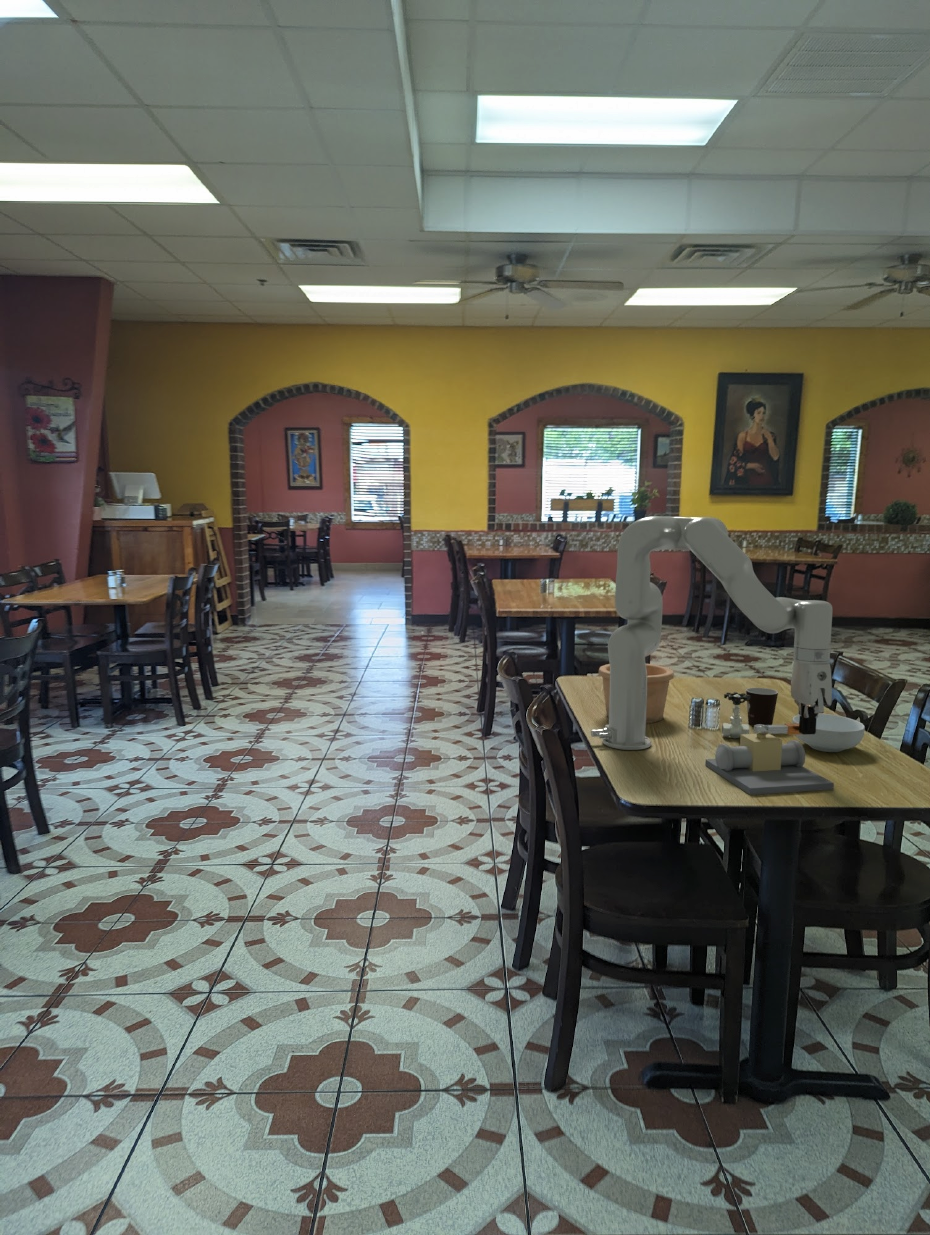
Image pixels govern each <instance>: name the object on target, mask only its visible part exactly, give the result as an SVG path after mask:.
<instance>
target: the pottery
mask: <svg viewBox="0 0 930 1235" xmlns="http://www.w3.org/2000/svg"><path fill="white" fill-rule="evenodd" d="M646 669H647V703H646V724H654V723H658V722H660V721H662V720H663V719H664V713H665V707H666V701H667V698H668V697H667V696H668V691H669V686H670V680H673V679H674V677H675V675H674V674H675V670H673V669H671V668H669V667H667V666H663V665H659V664H652V663H646ZM598 675H599V676H600V677H601V678H602V685H603V695H604V703H605V711H606V712H605V715H606V716H607V717H608V718H609V701H610V663H608V664H604V665H601V666H599V669H598Z"/></svg>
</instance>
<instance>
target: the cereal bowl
mask: <svg viewBox="0 0 930 1235" xmlns="http://www.w3.org/2000/svg"><path fill="white" fill-rule="evenodd" d="M800 716H801V715H799V714H796V715H794V716H793V717H792V721H791V722H792V723H799V719H800ZM865 728H866V727H865V725H864V723H862V722H860V721H858V720H856V719H853V718H850V717H846V716H842V715H837V714H836V715H835V714H829V713H819V714H818V717H817V719H816V733H815V734H806V735H803V734H794V736H796V738H797V739H798V741H799V742H802V743H805V744H806V745H808V746H809V747H810V748H812V749H813V750H817V751H820V752H826V753H839V752H842V751H844V750H849V749H852V748H855V747H857V746H858V745H859V744H860V743H861V742H862V740H863V738H864V736H865V730H866V729H865Z"/></svg>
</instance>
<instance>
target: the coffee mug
mask: <svg viewBox="0 0 930 1235" xmlns="http://www.w3.org/2000/svg"><path fill="white" fill-rule="evenodd" d="M745 694H746V695H750V699H748V701H746V707H747V708H746V709H747V711H746V712H747V721H748V722H747V724H748V725H749V727H750V726H751V727H753V728H754V725H757V724H761V725H773V722H774V717H775V712H776V706H777V700H778V695H779V691H778V690H776V689H774V688H773V689H771V688H768V687H767V688H765V687H748V688H746V689H745Z"/></svg>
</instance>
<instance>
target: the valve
mask: <svg viewBox="0 0 930 1235" xmlns="http://www.w3.org/2000/svg"><path fill="white" fill-rule="evenodd" d="M723 699H727V700H728V701H731V702H732V705H734V707H732V713H733V714H732V716H730V717H729V721H730V723H729V722H728V723H726V722H723V723H722V724H721V736H722V737H724V738H729V737H730V738H731V739H740V737H741V734H750V725H749V724H748V723H747V724H745V723H742V721H743V718H742V717H741V716H740V714H741V708H740V707H739V706H740V705H741V704H744V703H745V702H747V701H748V699H750V695H746V692H745V693H744V692H743V693H738V692H737V691H734V692H733V693H731V692H726V693H724V694H723Z"/></svg>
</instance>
